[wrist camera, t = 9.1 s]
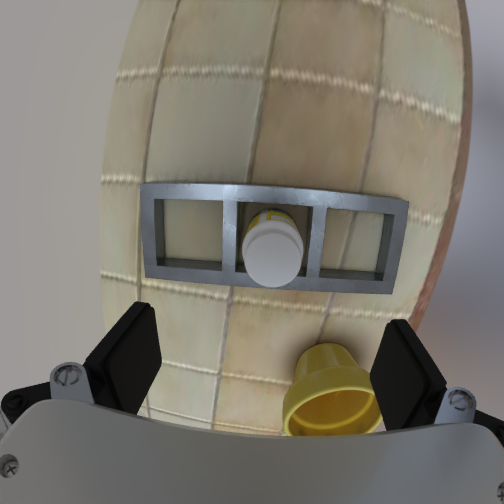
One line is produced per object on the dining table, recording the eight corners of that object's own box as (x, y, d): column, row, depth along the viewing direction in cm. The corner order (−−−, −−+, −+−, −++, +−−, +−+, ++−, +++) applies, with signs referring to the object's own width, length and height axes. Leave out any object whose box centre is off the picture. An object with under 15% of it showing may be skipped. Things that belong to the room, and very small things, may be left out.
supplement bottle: (256, 260, 29) (250, 300, 21) (241, 216, 27) (227, 240, 19) (303, 247, 28) (314, 282, 20) (289, 201, 27) (296, 219, 19)
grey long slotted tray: (150, 181, 27) (140, 183, 25) (399, 198, 25) (409, 201, 23) (154, 269, 30) (145, 277, 28) (384, 284, 28) (391, 294, 26)
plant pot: (366, 320, 30) (393, 377, 21) (363, 383, 33) (380, 439, 24) (276, 335, 31) (275, 397, 22) (287, 395, 34) (288, 454, 25)
